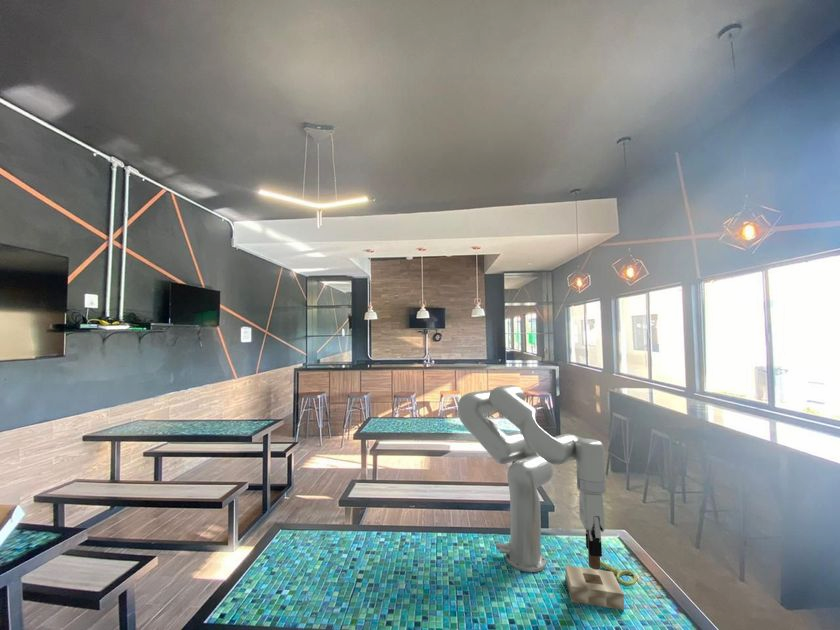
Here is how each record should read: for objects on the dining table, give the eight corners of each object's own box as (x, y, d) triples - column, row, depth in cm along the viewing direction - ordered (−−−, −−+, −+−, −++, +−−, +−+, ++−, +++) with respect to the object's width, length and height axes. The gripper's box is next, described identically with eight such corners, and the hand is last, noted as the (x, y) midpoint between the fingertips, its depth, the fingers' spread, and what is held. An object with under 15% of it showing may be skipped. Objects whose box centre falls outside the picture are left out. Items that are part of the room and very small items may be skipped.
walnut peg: (590, 568, 103) (588, 530, 104) (587, 562, 106) (586, 526, 107) (601, 570, 102) (600, 532, 103) (598, 564, 105) (597, 527, 106)
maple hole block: (571, 601, 100) (571, 586, 101) (565, 579, 110) (565, 565, 110) (624, 610, 98) (623, 593, 98) (613, 586, 107) (612, 571, 108)
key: (593, 563, 119) (593, 556, 119) (638, 577, 112) (637, 570, 112) (589, 574, 113) (589, 567, 114) (636, 590, 106) (635, 582, 107)
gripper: (572, 474, 115) (574, 536, 113) (583, 493, 99) (586, 566, 97) (598, 476, 113) (600, 539, 112) (613, 496, 98) (617, 570, 96)
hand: (593, 551), depth 104 cm, fingers closed on walnut peg, 3 cm apart
